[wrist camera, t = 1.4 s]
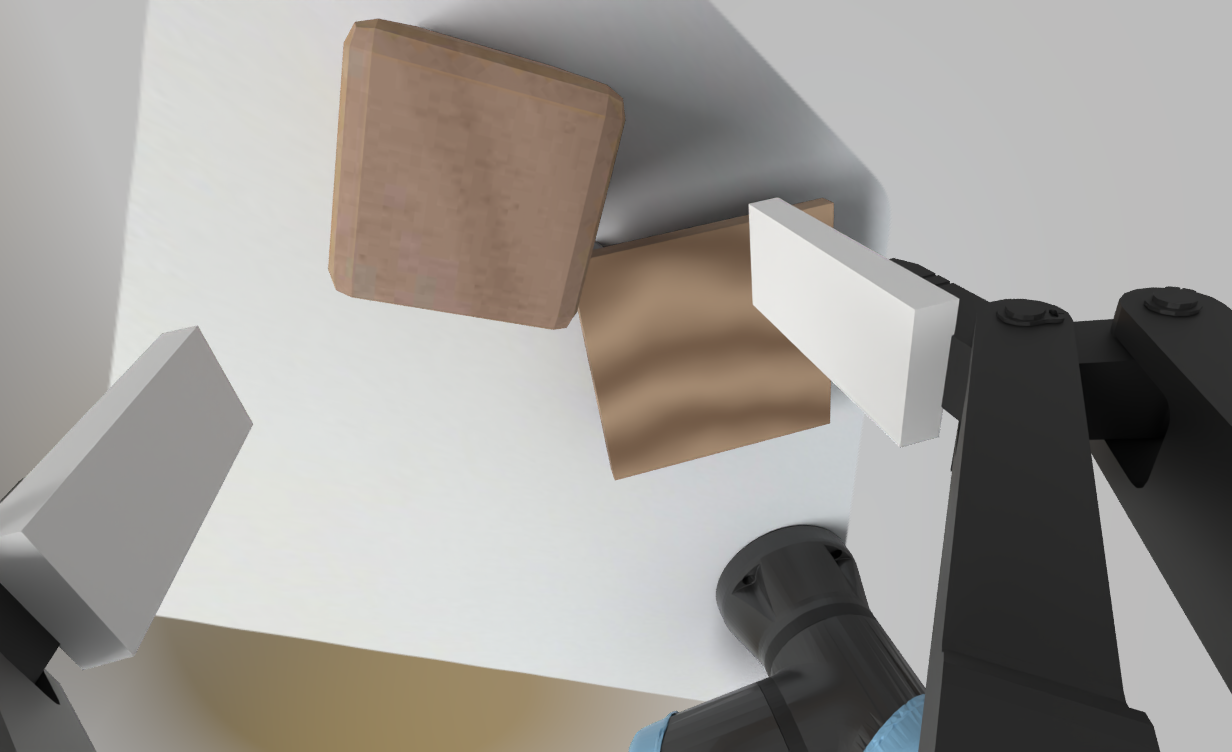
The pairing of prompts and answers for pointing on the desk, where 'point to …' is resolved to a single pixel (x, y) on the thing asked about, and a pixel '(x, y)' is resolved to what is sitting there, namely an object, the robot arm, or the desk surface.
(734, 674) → the desk surface
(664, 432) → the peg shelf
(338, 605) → the desk surface
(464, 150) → the wooden block
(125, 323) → the desk surface
